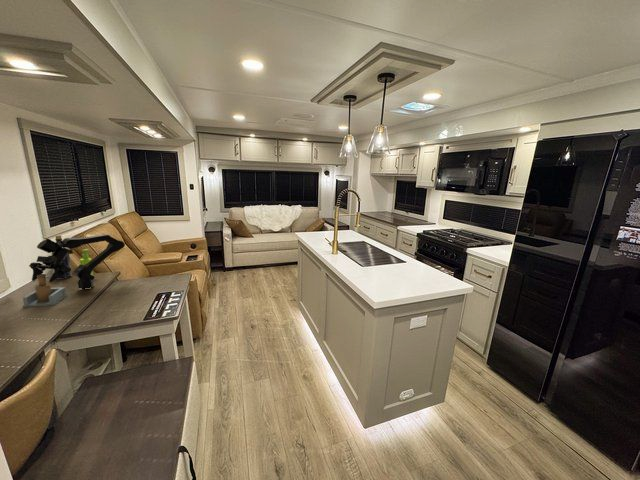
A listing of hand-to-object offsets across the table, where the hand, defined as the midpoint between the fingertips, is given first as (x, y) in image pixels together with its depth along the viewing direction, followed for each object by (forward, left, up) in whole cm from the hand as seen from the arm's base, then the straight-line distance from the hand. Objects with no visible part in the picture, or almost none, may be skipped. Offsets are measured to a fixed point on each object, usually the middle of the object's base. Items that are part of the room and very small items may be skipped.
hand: (41, 281), depth 144 cm
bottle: (+10, -43, -13) cm, 46 cm away
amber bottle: (0, -1, -12) cm, 12 cm away
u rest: (0, -1, -13) cm, 13 cm away
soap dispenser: (-4, -43, -13) cm, 45 cm away
